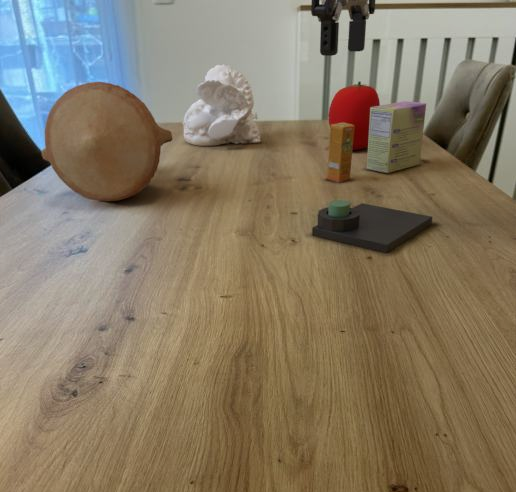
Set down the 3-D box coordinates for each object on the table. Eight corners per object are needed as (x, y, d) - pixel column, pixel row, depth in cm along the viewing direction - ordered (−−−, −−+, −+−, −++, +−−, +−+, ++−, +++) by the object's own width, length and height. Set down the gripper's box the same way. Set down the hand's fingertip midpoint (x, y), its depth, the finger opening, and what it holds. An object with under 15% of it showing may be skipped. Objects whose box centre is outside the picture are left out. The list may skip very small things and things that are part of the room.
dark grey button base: (358, 209, 89) (360, 191, 88) (431, 224, 82) (434, 204, 81) (309, 234, 80) (309, 214, 78) (386, 253, 73) (388, 231, 72)
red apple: (365, 156, 121) (370, 85, 114) (318, 151, 126) (320, 83, 119) (385, 145, 130) (391, 79, 123) (341, 141, 135) (344, 77, 128)
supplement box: (339, 183, 103) (342, 126, 98) (326, 179, 105) (328, 124, 100) (351, 179, 105) (355, 123, 100) (338, 176, 107) (341, 121, 102)
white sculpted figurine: (171, 98, 143) (233, 51, 135) (217, 164, 152) (277, 123, 144) (151, 114, 128) (219, 62, 120) (203, 186, 136) (269, 142, 128)
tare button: (335, 210, 81) (336, 198, 80) (353, 214, 79) (353, 202, 78) (324, 216, 79) (324, 204, 78) (342, 219, 77) (342, 207, 76)
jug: (4, 141, 85) (53, 130, 112) (94, 234, 92) (120, 203, 119) (95, 50, 81) (123, 62, 108) (183, 154, 88) (189, 140, 115)
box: (397, 160, 117) (403, 100, 111) (420, 165, 113) (427, 102, 107) (365, 169, 111) (369, 106, 105) (387, 174, 107) (393, 109, 101)
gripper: (354, -111, 60) (345, 57, 68) (401, -95, 70) (388, 50, 78) (293, -103, 63) (292, 56, 72) (347, -89, 73) (340, 49, 82)
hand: (342, 53), depth 75 cm, fingers open, 8 cm apart
